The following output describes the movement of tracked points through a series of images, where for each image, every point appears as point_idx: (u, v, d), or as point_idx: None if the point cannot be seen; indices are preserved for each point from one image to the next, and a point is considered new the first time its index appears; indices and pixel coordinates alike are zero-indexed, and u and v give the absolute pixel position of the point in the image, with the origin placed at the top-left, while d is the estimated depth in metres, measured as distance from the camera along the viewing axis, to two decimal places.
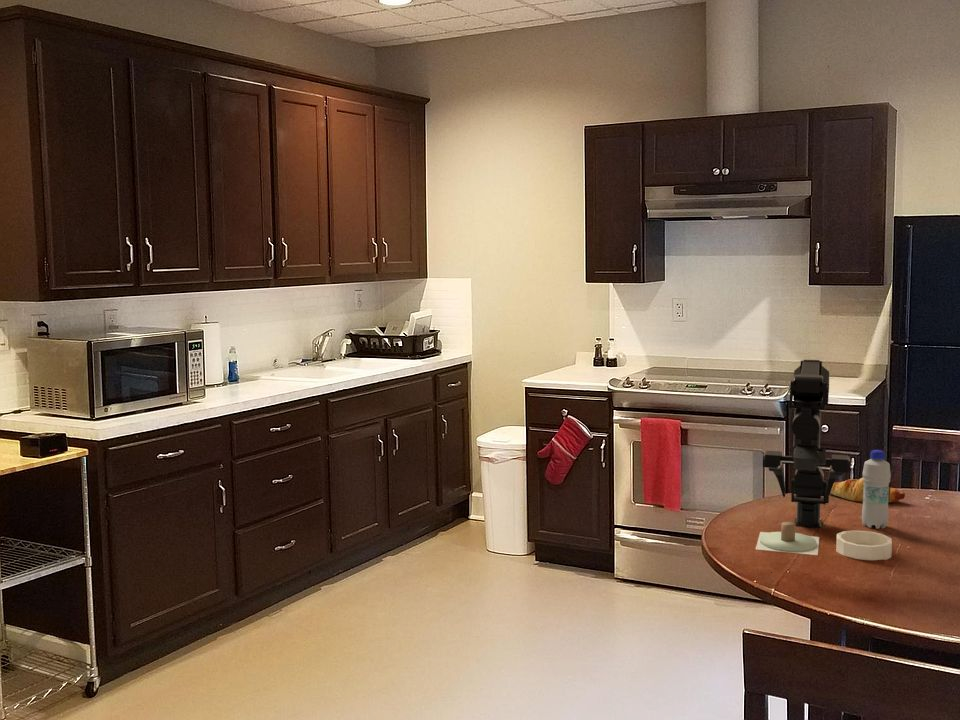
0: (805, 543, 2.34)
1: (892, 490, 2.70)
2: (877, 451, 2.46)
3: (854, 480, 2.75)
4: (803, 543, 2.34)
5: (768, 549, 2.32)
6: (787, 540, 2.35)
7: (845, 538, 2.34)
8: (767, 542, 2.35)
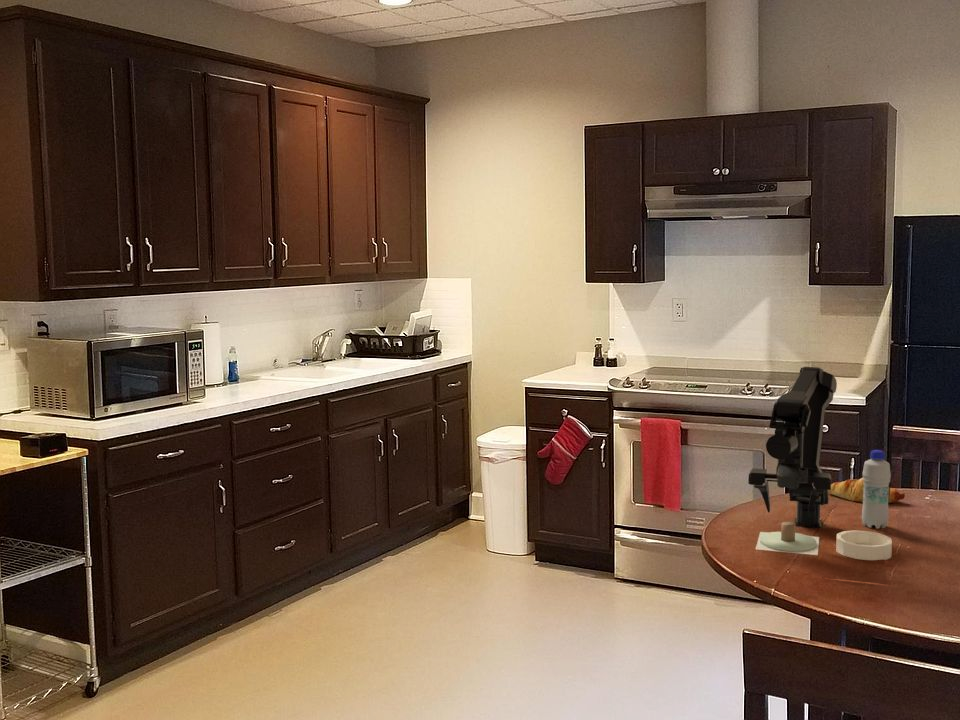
0: (805, 543, 2.34)
1: (892, 490, 2.69)
2: (877, 451, 2.46)
3: (854, 480, 2.75)
4: (803, 543, 2.34)
5: (768, 549, 2.32)
6: (787, 540, 2.35)
7: (845, 538, 2.34)
8: (767, 542, 2.35)
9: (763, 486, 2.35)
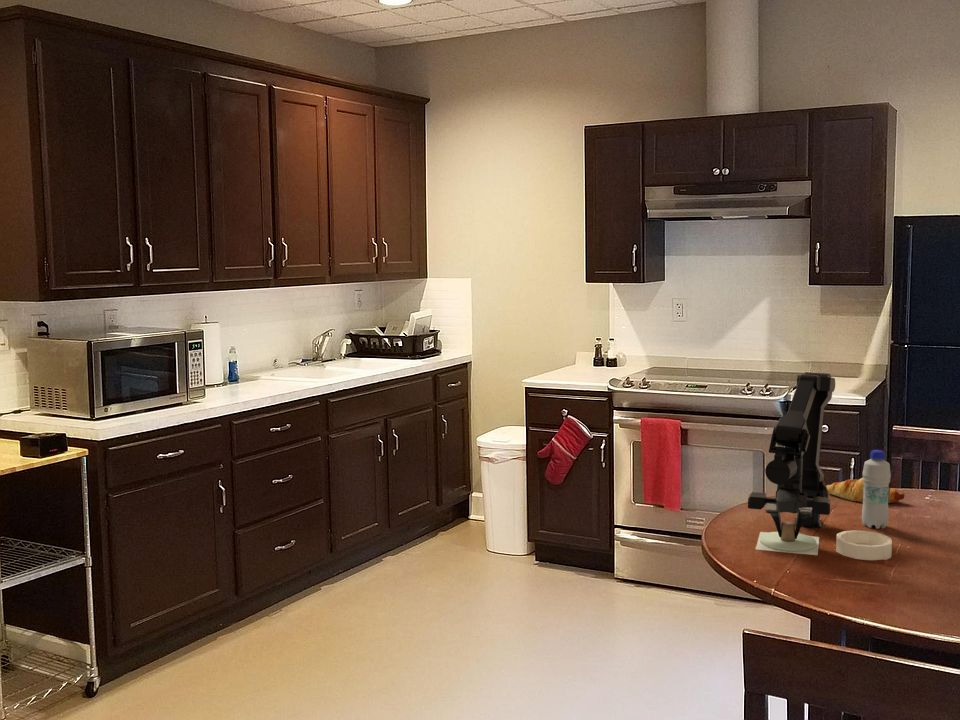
0: (805, 543, 2.34)
1: (891, 490, 2.69)
2: (877, 451, 2.46)
3: (854, 480, 2.75)
4: (803, 542, 2.34)
5: (768, 549, 2.32)
6: (787, 540, 2.35)
7: (845, 538, 2.34)
8: (767, 542, 2.35)
9: (775, 511, 2.34)
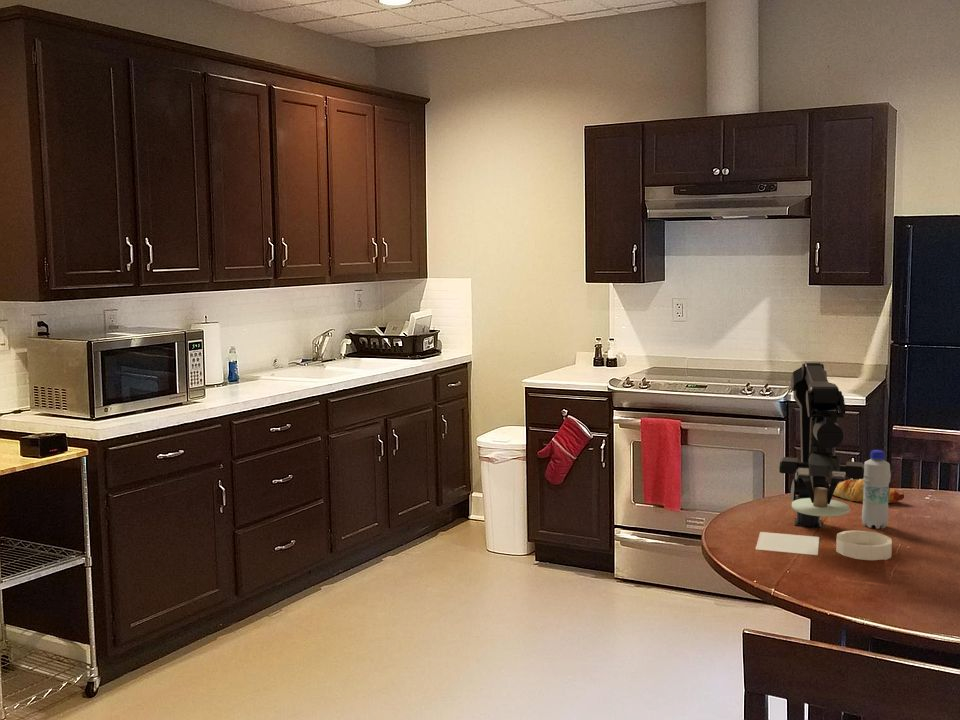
0: (838, 508, 2.30)
1: (891, 491, 2.69)
2: (877, 451, 2.46)
3: (854, 480, 2.75)
4: (835, 508, 2.30)
5: (768, 549, 2.32)
6: (820, 505, 2.31)
7: (845, 538, 2.34)
8: (799, 507, 2.31)
9: (807, 476, 2.30)
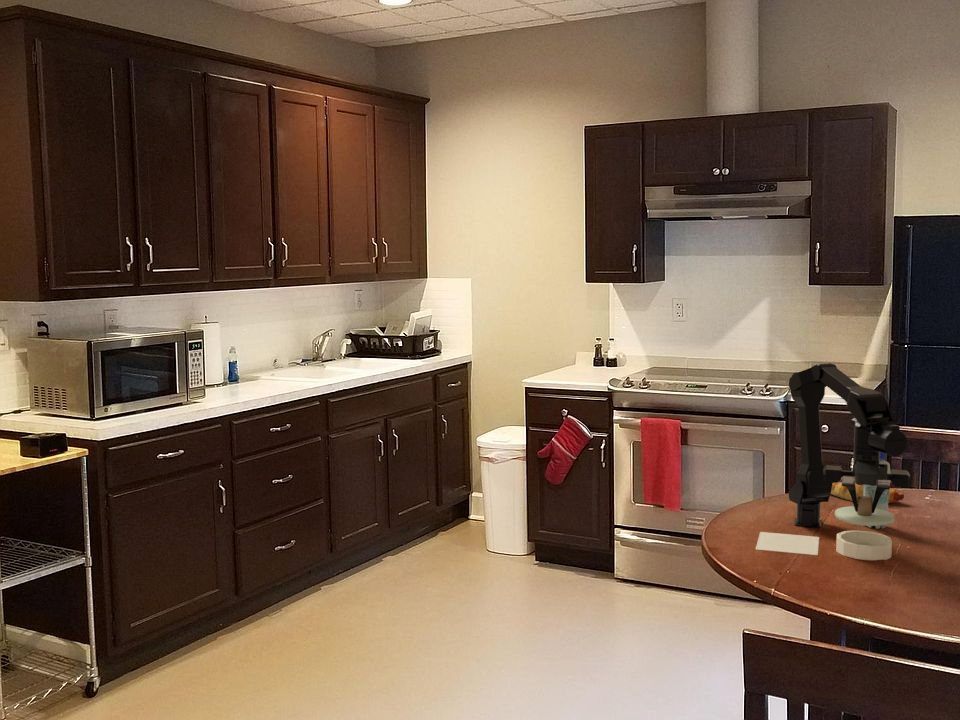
0: (883, 517, 2.26)
1: (891, 491, 2.69)
2: None
3: None
4: (881, 517, 2.26)
5: (768, 549, 2.32)
6: (864, 514, 2.27)
7: (845, 538, 2.34)
8: (843, 516, 2.27)
9: (851, 484, 2.27)
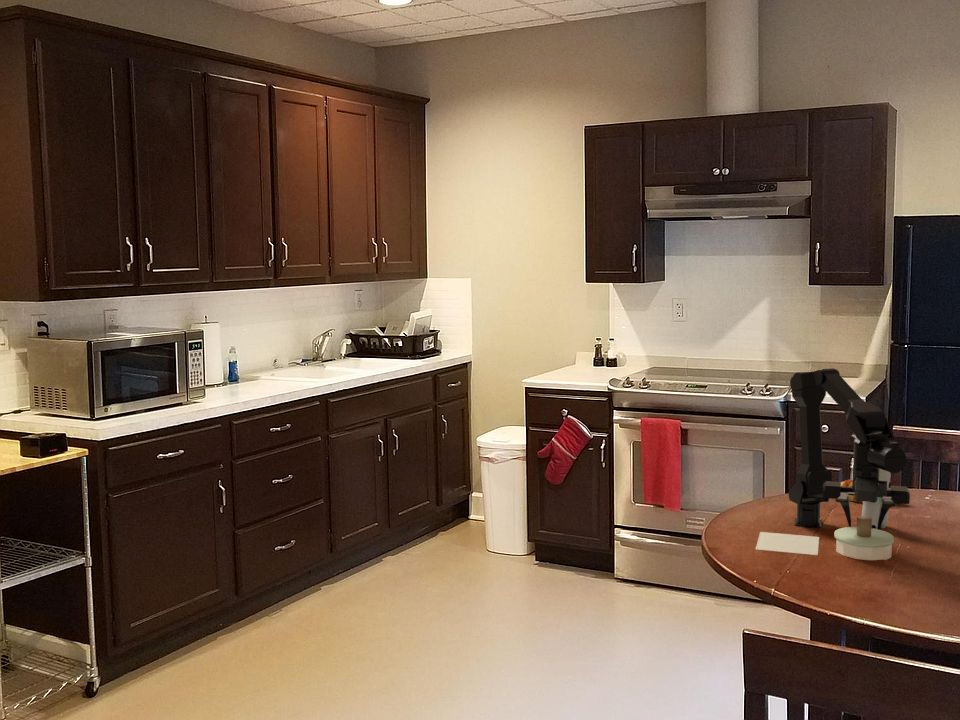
0: (883, 538, 2.27)
1: None
2: None
3: None
4: (880, 538, 2.27)
5: (768, 549, 2.32)
6: (864, 535, 2.28)
7: None
8: (843, 537, 2.28)
9: (845, 500, 2.28)
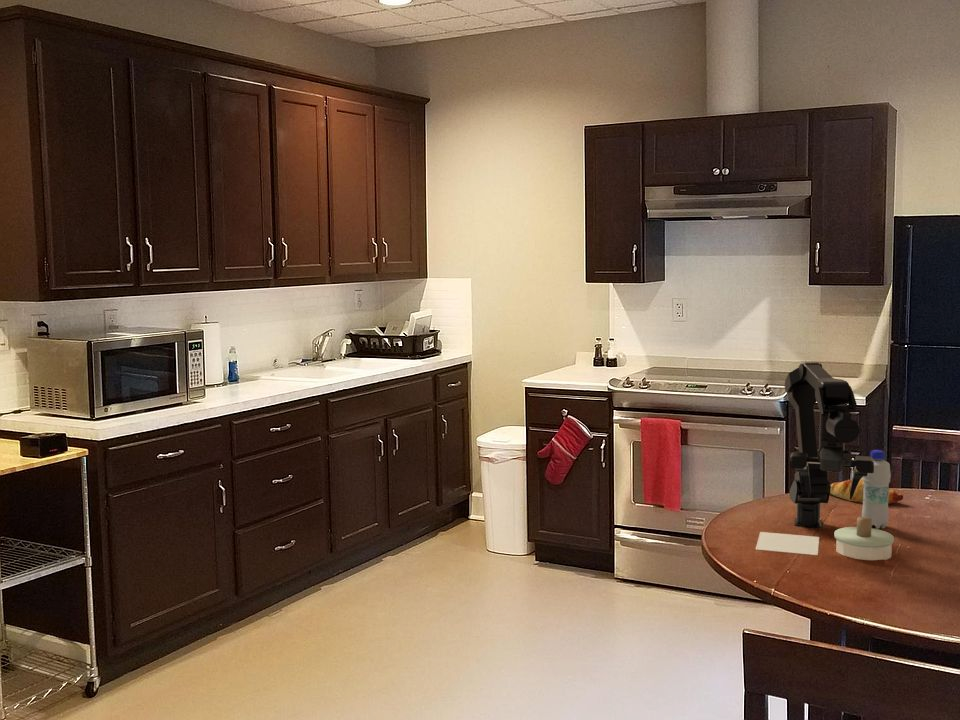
0: (883, 538, 2.27)
1: (890, 491, 2.69)
2: (877, 451, 2.46)
3: None
4: (880, 538, 2.27)
5: (768, 549, 2.32)
6: (864, 535, 2.28)
7: None
8: (843, 537, 2.28)
9: (804, 470, 2.33)
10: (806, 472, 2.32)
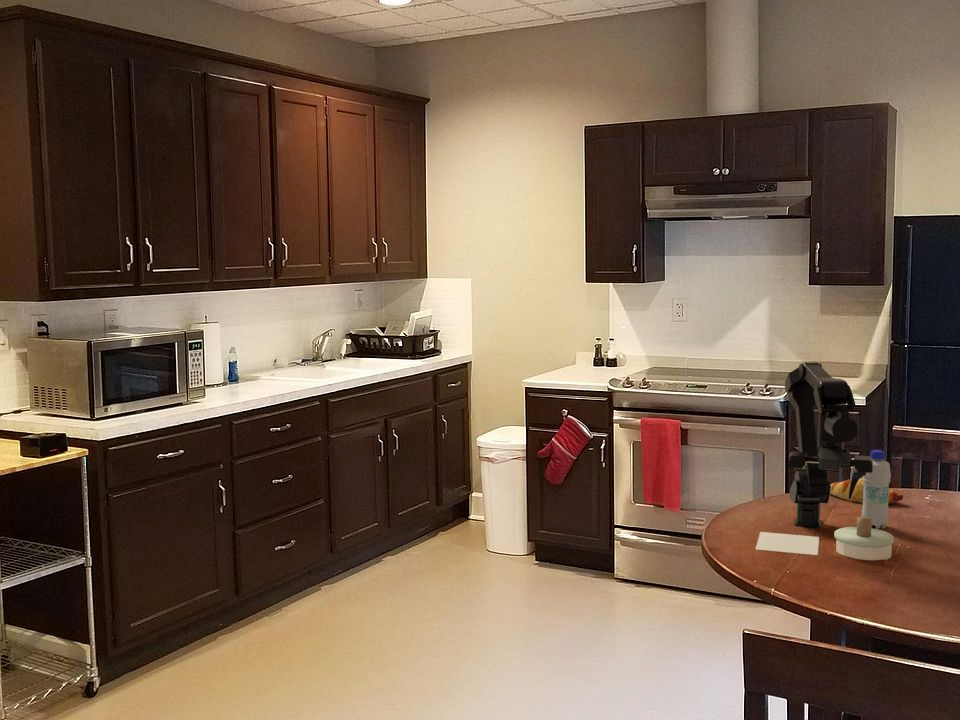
0: (883, 538, 2.27)
1: (890, 491, 2.69)
2: (877, 451, 2.46)
3: None
4: (880, 538, 2.27)
5: (768, 549, 2.32)
6: (864, 535, 2.28)
7: None
8: (843, 537, 2.28)
9: (803, 469, 2.33)
10: (805, 471, 2.33)
